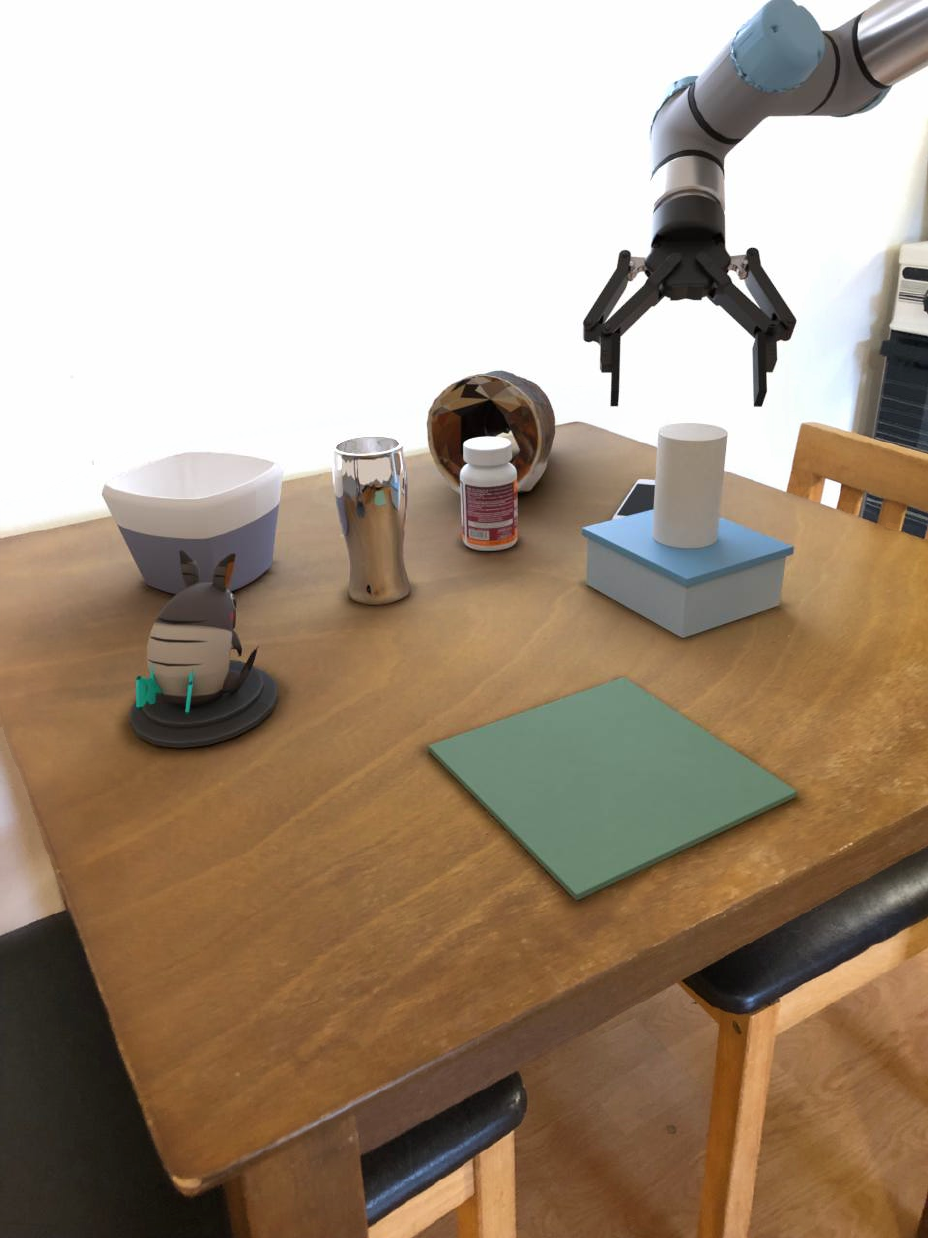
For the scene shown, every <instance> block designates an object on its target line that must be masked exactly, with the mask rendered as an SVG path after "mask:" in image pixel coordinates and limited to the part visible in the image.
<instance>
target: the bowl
mask: <svg viewBox="0 0 928 1238" xmlns="http://www.w3.org/2000/svg"><path fill="white" fill-rule="evenodd" d="M283 477H284V470H283V468H282V466H281V465H280V464H279V463H278V462H277V461H275V460H273V459H272V460H271V459H269V458H265V457H260V456H256V455H250V454H244V453H237V452H236V453H235V452H225V451H208V450H186V451H182V452H179V453H174V454H169V455H167V456H163V457H160V458H157V459H154V460H151V461H148V462H147V463H146V462H145V463H143V464H140V465H138V466H135V467H132V468H130V469H128V470H126V471H124V472H122V473H119V474H117V475H116V476H114V477H112V478H111V479H109V480H108V481H107V482H105V484H104V485H103V488H102V490H101V496H102V498H103V500H104V502H105V504H106V506H107V509H108V510H109V512H110V514H111V517H112V519H113V521H114V523H115V524H116V525H117V528H118V530H119V532H120V534H121V535H122V538H123V540H124V542H125V544H126V546H127V548H128V550H129V552H130V554H131V556H132V558H133V560H134V562H135V565H136V566H137V568H138V571H139V572H140V574H141V577H142V579H143V581H144V583H145V584H146V585H148V586H149V587H152V588H154V589H157V590H159V591H163V592H165V593H169V594H173V595H177V594H178V593H180V592H181V591H183V590H184V589H186V588H187V587H186V585H185V582H184V579H183V576H182V572H181V567H180V554H179V551H180V550H183V551H185V552H186V553H187V554H188V555H189V556H190V557H191V558H192V559H194V560H195V561H196V563H197V564H198V568H199V574H200V582H201V583H207V582H210V583H213V574H214V570H215V568H216V566H217V564H218V563H219V562H220V561H221V560H223V559H224V558H225V557H227V556H228V555H230V554H232V553H235V555H236V557H235V562H234V568H233V572H232V576H231V579H230V582H229V586H228V588H227V589H228V590H229V591H230V592H231V593H233V592H234V591H237V590H239V589H241V588H243V587H245V586H247V585H248V584H250V583H252V582H254V581H256V580H257V579H258V578H260V577H261V576H262V575H263V574H264V573H265V572H266V571H267V570H269V569H270V567H271V566H272V564H273V559H274V558H273V557H274V551H275V550H274V549H275V543H276V542H275V541H276V534H277V525H278V517H279V507H280V501H281V494H282V487H283V486H282V485H283Z"/></svg>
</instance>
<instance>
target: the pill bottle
mask: <svg viewBox="0 0 928 1238" xmlns="http://www.w3.org/2000/svg"><path fill="white" fill-rule="evenodd" d="M512 446H513V445H512V441H511V440H510V439H508V438H505V437H501V436H496V437H478V438H473V439H469V440H467V441H465V442H464V444H463V452H464V454H463V459H464V461H465V462H466V463H468V464H466V465H465V466H464V467H463V468H462V470H461V472H460V490H461V494H460V513H461V515H460V516H461V535H462V541H463V544H464V545H465V546H466V547H468V548H469V549H472V550H475V551H479V552H480V551H481V552H496V551H503V550H506V549H509V548H511V547H513V546H514V545H515V544H516V543H517V541H518V538H519V537H518V536H519V535H518V534H519V531H518V529H519V527H518V526H519V525H518V523H519V520H518V517H519V513H518V511H519V510H518V509H519V508H518V506H519V505H518V502H519V501H518V494H517V471H516V469H515V467H514V466H513V465H512V464H511V463H509V462H511V461H512V459H513V447H512Z"/></svg>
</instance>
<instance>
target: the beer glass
mask: <svg viewBox="0 0 928 1238" xmlns="http://www.w3.org/2000/svg"><path fill="white" fill-rule="evenodd" d="M331 451H332V483H333V495H334V501H335V508H336V512H337V517H338V520H339V523H340V527H341V531H342V534H343V537H344V542H345V545H346V549H347V552H348V558H349V569H350V570H349V581H348V596H349V597H350V599H351V600H353V601H355V602H356V603H359V604H363V605H368V606H369V605H370V606H371V605H373V606H377V605H378V606H380V605H387V604H392V603H396V602H399V601H401V600H403V599H405V598H406V597H407V596H409V593H410V591H411V585H410V581H409V577H408V574H407V570H406V566H405V554H404V553H405V549H404V548H405V540H406V539H405V538H406V530H407V529H406V528H407V523H408V512H409V511H408V508H409V481H408V473H407V466H406V458H405V451H404V442H403V441H402V440H401V439H400V438H397V437H393V436H389V435H377V434H376V435H359V436H352V437H349V438H344V439H341V440H338V441H337V442H335V443H333V445H332V447H331Z"/></svg>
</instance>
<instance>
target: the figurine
mask: <svg viewBox="0 0 928 1238" xmlns="http://www.w3.org/2000/svg"><path fill="white" fill-rule="evenodd" d="M179 554H180V567H181V572H182V576H183V579H184V582H185V585H186V587H187V588H186V589H184V590H183V591H181V592H180V593H178V594H175V595H174V596H173V597H172V598H171V599H170V600H169V601H168V602H167V603H166V605H165V606H164V607H163V608H162V610H161V611H160V613H159V614H158V615H157V617H156V619H155V620H154V623H153V626H152V628H151V630H150V633H149V636H148V640H147V650H146V663H147V664H146V665H147V670H148V673H149V677H150V678H149V677H145V676H142V675H138V676H136V679H135V681H136V682H135V695H136V698H135V701H134V703H133V704H132V705H131V707H130V713H129V725H130V727H131V728H132V730H133V731H134V733H135V734H136V735H137V737H138V738H139V739H141V740H144V741H146V742H148V743H149V744H150V743H151V744H152V745H155V746H160V747H166V748H167V747H169V748H178V749H183V748H184V749H185V748H192V747H193V748H195V747H202V746H203V747H204V746H209V745H213V744H217V743H219V742H223V741H226V740H230V739H233V738H236V737H237V736H240V735H241V734H243V733H245V732H247V731H248V730H251V729H253V728H254V727H256V726H258V725H259V724H260V723H261V722H262V721H263V720H264V719H265V718H266V717H268V716H269V715H270V714H271V713H273V710H274V708H275V706H276V703H277V701H278V699H279V694H278V693H279V692H278V687H277V681H276V679H274V678H273V677H272V676H271V675H270V674H269V673H268V671H266V670H263V669H261V668H258V667H256V666H254V663H255V660H256V657H257V653H258V649H259V647H260V645H258V646H257V647H256V648H255V649H253V651H252V652H250V655H249V657H248V659H247V660H246V662H244V661H242V660H239V659H238V660H236V659H231V652H232V650H236V651H237V654H238V655H237V657H238V658H240V657H242V653H243V646H242V643H241V640H240V638H239V637H238V634H237V632H236V631H235V630H234V629H235V628H236V624H237V623H236V622H237V610H236V609H237V598H236V596H235V595H234V594H233V592H230V591H229V590H228V589H227V588H228V586H229V582H230V579H231V576H232V572H233V568H234V562H235V557H236V555H235V553H232V554H230V555H228V556H227V557H225V558H224V559H223V560H221V561H220V562H219V563H218V564H217V566H216V568H215V570H214V574H213V583H210V582H207V583H201V582H200V574H199V568H198V564H197V563H196V561H195V560H194V559H192V558H191V557H190V556H189V555H188V554H187V553H186V552H185V551H183V550H180V551H179Z"/></svg>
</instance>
